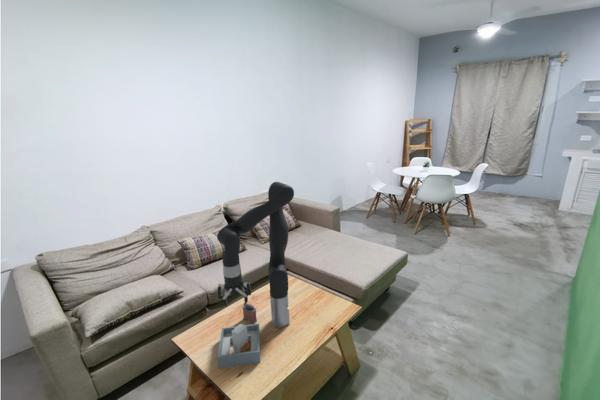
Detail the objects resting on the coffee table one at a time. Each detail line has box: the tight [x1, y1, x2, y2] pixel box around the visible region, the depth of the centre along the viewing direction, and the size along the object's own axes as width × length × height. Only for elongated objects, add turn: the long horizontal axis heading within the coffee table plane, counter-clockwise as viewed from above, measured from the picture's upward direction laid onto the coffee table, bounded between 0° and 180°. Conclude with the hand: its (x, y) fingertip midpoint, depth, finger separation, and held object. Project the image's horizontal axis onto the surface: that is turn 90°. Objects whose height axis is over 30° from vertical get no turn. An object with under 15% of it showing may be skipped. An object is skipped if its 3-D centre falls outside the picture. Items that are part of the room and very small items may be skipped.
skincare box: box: [232, 323, 249, 353], centre depth 137 cm, size 6×4×12 cm
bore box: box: [217, 323, 261, 369], centre depth 138 cm, size 18×18×6 cm
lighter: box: [242, 302, 258, 324], centre depth 157 cm, size 8×3×10 cm, turn 65°
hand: (236, 303), depth 133 cm, fingers open, 8 cm apart
